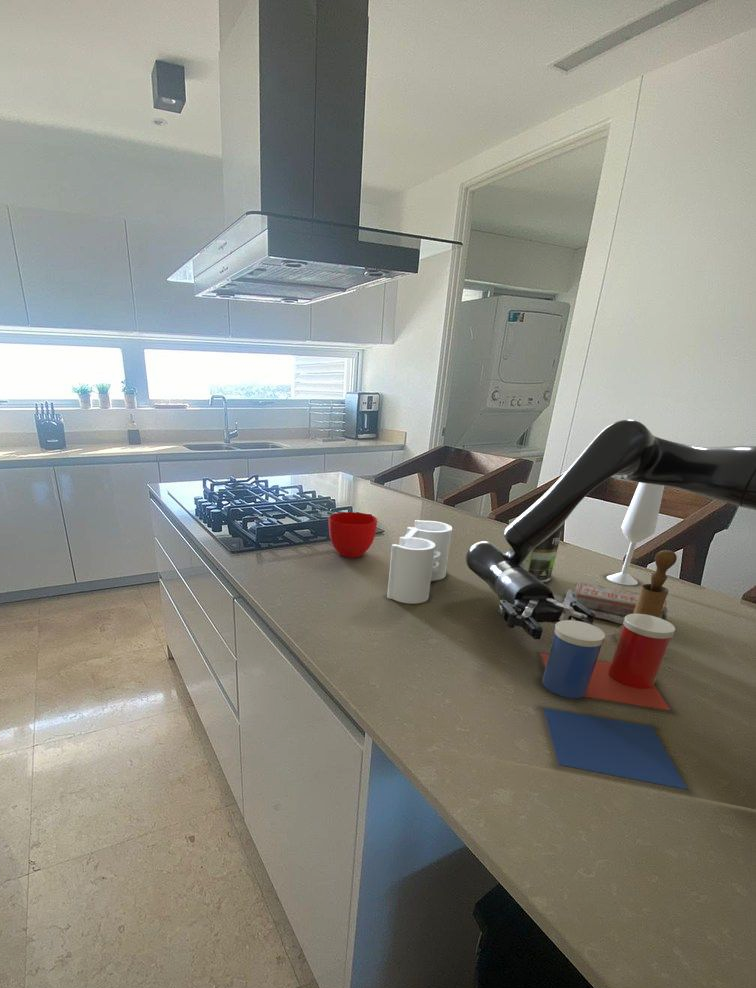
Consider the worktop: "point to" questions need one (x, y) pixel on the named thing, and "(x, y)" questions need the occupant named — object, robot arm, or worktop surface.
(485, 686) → the worktop surface
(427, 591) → the bracket
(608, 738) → the blue mat
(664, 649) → the red canister
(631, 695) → the terracotta mat
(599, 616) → the packaged product
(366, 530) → the ceramic cup
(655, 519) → the champagne flute
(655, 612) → the mortar and pestle
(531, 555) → the coffee can
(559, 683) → the blue canister
